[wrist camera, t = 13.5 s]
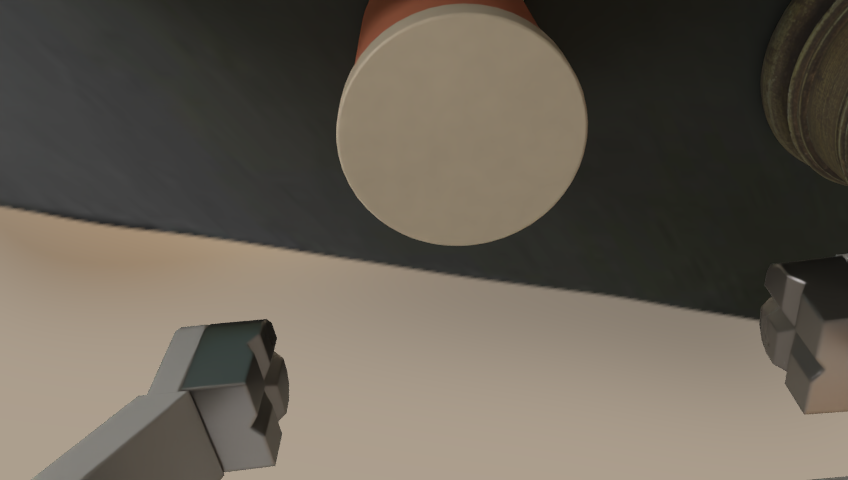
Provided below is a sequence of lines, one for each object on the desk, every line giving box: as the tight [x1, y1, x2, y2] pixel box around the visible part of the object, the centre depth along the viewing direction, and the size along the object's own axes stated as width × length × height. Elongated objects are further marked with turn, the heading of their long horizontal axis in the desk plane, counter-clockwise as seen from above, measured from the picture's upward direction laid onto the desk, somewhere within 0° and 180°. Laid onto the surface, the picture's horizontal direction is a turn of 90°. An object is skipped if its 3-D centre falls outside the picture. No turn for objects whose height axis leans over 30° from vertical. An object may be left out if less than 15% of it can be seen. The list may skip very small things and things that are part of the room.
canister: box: [336, 0, 588, 246], centre depth 23 cm, size 7×7×9 cm
